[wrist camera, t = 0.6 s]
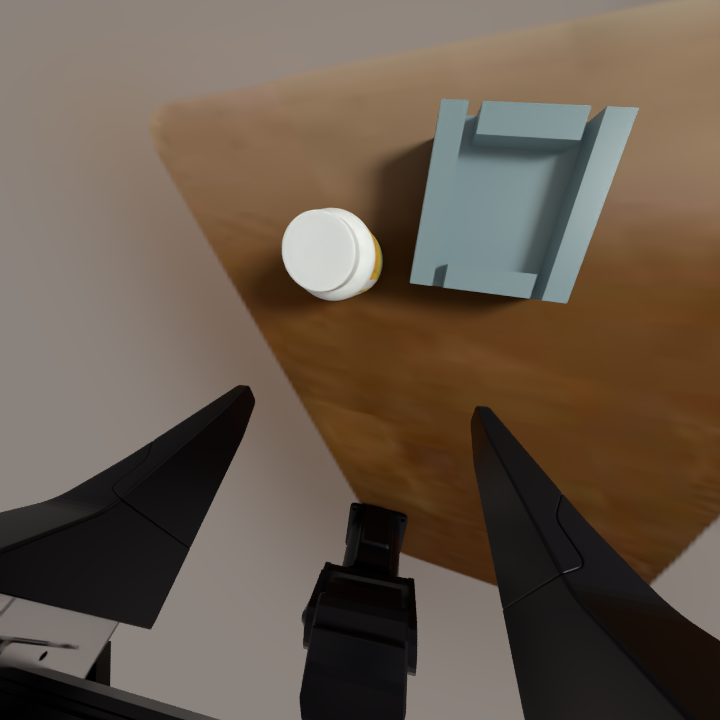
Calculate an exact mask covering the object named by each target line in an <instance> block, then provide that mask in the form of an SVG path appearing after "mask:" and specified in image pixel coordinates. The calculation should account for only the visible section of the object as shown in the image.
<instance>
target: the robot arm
mask: <svg viewBox="0 0 720 720" xmlns="http://www.w3.org/2000/svg"><path fill="white" fill-rule="evenodd" d="M254 405H255V398H254V396H253V393H252V391H251V389H250V387H249V386H244V385H238V386H236V387H235V388H233V389H232V390H230V391H229V392H227V393H226V394H224V395H222V396H221V397H219V398H218V399H216V400H215V401H213V402H212V403H210V404H209V405H207V406H206V407H204V408H203V409H201V410H199V411H198V412H196V413H195V414H193V415H192V416H191V417H189V418H187V419H186V420H184V421H183V422H181V423H180V424H178V425H176V426H175V427H174V428H172V429H170V430H169V431H167V432H166V433H164V434H163V435H161V436H159V437H158V438H157V439H155V440H154V441H152V442H150V443H149V444H147V445H146V446H144V447H142V448H141V449H139V450H138V451H136V452H135V453H133V454H132V455H130V456H128V457H127V458H125V459H123V460H122V461H120V462H118V463H116V464H115V465H113V466H111V467H110V468H108V469H106V470H105V471H103V472H101V473H99V474H97V475H96V476H94V477H92V478H91V479H89V480H87V481H85V482H84V483H82V484H80V485H78V486H77V487H75V488H73V489H71V490H70V491H68V492H66V493H64V494H62V495H60V496H58V497H55V498H53V499H50V500H47V501H44V502H41V503H37V504H34V505H30V506H25V507H21V508H17V509H13V510H9V511H5V512H1V513H0V720H219V719H215V718H212V717H209V716H205V715H202V714H199V713H195V712H192V711H189V710H186V709H182V708H179V707H176V706H172V705H169V704H166V703H162V702H159V701H156V700H153V699H149V698H146V697H143V696H139V695H136V694H133V693H129V692H126V691H122V690H119V689H116V688H113V687H110V658H111V657H110V656H111V654H110V653H111V641H108V640H109V639H110V637H111V636H112V634H113V632H114V631H115V629H116V627H117V626H118V624H119V623H120V622H121V623H125V624H129V625H133V626H137V627H141V628H146V629H151V628H152V626H153V624H154V623H155V621H156V619H157V617H158V614H159V612H160V610H161V608H162V606H163V604H164V602H165V600H166V598H167V596H168V593H169V591H170V589H171V587H172V585H173V583H174V581H175V579H176V577H177V575H178V573H179V571H180V568H181V566H182V564H183V562H184V560H185V558H186V556H187V554H188V552H189V550H190V547H191V545H192V543H193V541H194V539H195V537H196V535H197V533H198V530H199V528H200V526H201V524H202V522H203V520H204V518H205V516H206V514H207V512H208V510H209V507H210V505H211V503H212V501H213V499H214V497H215V495H216V493H217V490H218V488H219V486H220V484H221V482H222V480H223V478H224V476H225V474H226V472H227V470H228V467H229V466H230V463H231V461H232V459H233V457H234V455H235V453H236V451H237V449H238V447H239V445H240V443H241V440H242V438H243V436H244V433H245V430H246V427H247V425H248V422H249V419H250V416H251V413H252V411H253V407H254ZM471 435H472V448H473V460H474V468H475V474H476V478H477V483H478V488H479V493H480V498H481V503H482V508H483V513H484V518H485V523H486V528H487V533H488V538H489V543H490V548H491V553H492V558H493V563H494V568H495V573H496V578H497V583H498V588H499V593H500V598H501V603H502V607H503V609H504V610H503V614H504V619H505V624H506V629H507V633H508V638H509V644H510V649H511V654H512V659H513V664H514V669H515V674H516V678H517V683H518V688H519V694H520V698H521V704H522V709H523V713H524V718H525V720H720V641H719V640H718V639H716V638H715V637H713V636H712V635H710V634H709V633H707V632H705V631H704V630H702V629H701V628H699V627H698V626H696V625H695V624H693V623H692V622H691V621H689V620H688V619H686V618H685V617H684V616H682V615H681V614H680V613H679V612H678V611H676V610H675V609H674V608H673V607H671V606H670V605H669V604H668V603H667V602H666V601H664V600H663V599H662V598H661V597H660V596H659V595H658V594H657V593H656V592H655V591H654V590H653V589H652V588H651V587H650V586H649V585H648V584H647V583H646V582H645V581H644V580H643V579H642V578H641V577H640V576H639V575H638V574H637V573H636V572H635V571H634V570H633V569H632V567H631V566H630V565H629V564H628V563H627V562H626V561H625V560H624V559H623V558H622V557H621V556H620V555H619V554H618V553H617V552H616V551H615V550H614V549H613V548H612V547H611V546H610V545H609V544H608V543H607V542H606V541H605V540H604V539H603V538H602V537H601V536H600V535H599V534H598V533H597V532H596V531H595V530H594V528H593V527H592V526H591V525H590V524H589V523H588V522H587V521H586V520H585V519H584V518H583V516H582V515H581V514H580V513H579V512H578V511H577V510H576V509H575V507H574V506H573V505H572V504H571V503H570V502H569V500H568V499H567V498H566V497H565V496H564V495H563V494H562V493H561V491H560V490H559V489H558V488H557V486H556V485H555V484H554V483H553V482H552V481H551V479H550V478H549V477H548V476H547V475H546V474H545V472H544V471H543V470H542V469H541V468H540V466H539V465H538V464H537V463H536V462H535V461H534V459H533V458H532V457H531V456H530V455H529V454H528V452H527V451H526V450H525V449H524V448H523V447H522V445H521V444H520V443H519V442H518V441H517V439H516V438H515V437H514V436H513V435H512V434H511V432H510V431H509V430H508V429H507V428H506V427H505V425H504V424H503V423H502V422H501V421H500V420H499V418H498V417H497V416H496V415H495V414H494V412H493V411H492V410H491V409H490V408H489V407H486V406H477V407H476V408H475V411H474V413H473V416H472V419H471ZM561 494H562V495H561ZM355 507H356V508H355ZM406 525H407V516H406V515H405V514H402V513H397V512H393V511H389V510H385V509H380V508H376V507H372V506H368V505H363V504H359V503H352V504H351V507H350V513H349V521H348V528H347V535H346V545H347V547H346V552H345V556H344V561H343V565H342V566H340V565H335V564H331V563H330V562H326V563H325V566H324V569H323V570H321V573H320V575H319V578H318V581H317V583H316V585H315V588H314V591H313V593H312V596H311V599H310V601H309V603H308V604H307V606H306V608H305V609H304V611H303V614H302V623H303V625H304V638H303V647H304V649H307V650H308V652H307V657H306V663H305V669H304V674H303V680H302V687H301V692H300V708H301V718H302V720H404V719H405V715H406V693H407V674H408V675H412V676H415V675H416V665H417V615H416V600H415V585H414V579H413V578H408V579H407V578H402V577H399V554H400V550H401V546H402V541H403V537H404V533H405V529H406Z"/></svg>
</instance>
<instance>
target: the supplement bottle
mask: <svg viewBox="0 0 720 720" xmlns="http://www.w3.org/2000/svg"><path fill="white" fill-rule="evenodd" d="M282 258H283V262H284V265H285V267H286V269H287V271H288V273H289V275H290V276H291V277H292V279H293V280H294V281H295V282H296V283H297V284H299V285H300V286H302V287H303V288H305V289H306V290H307V291H308V292H310V293H311V294H313V295H314V296H316V297H318V298H321V299H324V300H330V301H338V300H344V299H347V298H350V297H353V296H355V295H358V294H361V293H363V292H365V291H367V290H368V289H370V288H371V287H372V286H373V285H374V284H375V283H376V282H377V280H378V278H379V276H380V274H381V271H382V266H383V255H382V251H381V247H380V245H379V243H378V241H377V240H376V238H375V237H374V236H373V234H372V233H371V232H370V231H369V229H368V228H367V227H366V225H365V224H364V223H363V222H362V221H361V220H360V219H359V218H358V217H356V216H355V215H354V214H352V213H350V212H348V211H346V210H343V209H338V208H325V209H320V210H310V211H306V212H304V213H302V214H300V215H298V216H297V217H296V218H295V219H294V220H293V221H292V222H291V223H290V224H289V226H288V227H287V229H286V231H285V234H284V237H283V241H282Z"/></svg>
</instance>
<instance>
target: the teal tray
mask: <svg viewBox="0 0 720 720" xmlns="http://www.w3.org/2000/svg"><path fill="white" fill-rule="evenodd" d="M468 103H469V100H454V99H442V100H441V105H440V110H439V115H438V120H437V125H436V130H435V135H434V141H433V147H432V153H431V158H430V164H429V170H428V176H427V182H426V187H425V193H424V199H423V205H422V211H421V216H420V222H419V228H418V234H417V240H416V246H415V251H414V257H413V263H412V269H411V275H410V280H409V282H410V283H413V284H421V285H428V286H432V285H433V286H441V287H444V288H451V289H459V290H467V291H475V292H482V293H490V294H498V295H506V296H513V297H521V298H529V299H530V298H533V299H538V300H544V301H552V302H560V303H567V302H568V299H569V296H570V294H571V291H572V288H573V285H574V283H575V280H576V277H577V275H578V272H579V269H580V266H581V264H582V261H583V258H584V256H585V253H586V250H587V247H588V245H589V242H590V239H591V237H592V234H593V231H594V228H595V226H596V223H597V220H598V218H599V215H600V212H601V209H602V207H603V204H604V201H605V199H606V196H607V193H608V190H609V188H610V185H611V182H612V180H613V177H614V174H615V171H616V169H617V166H618V163H619V161H620V158H621V155H622V152H623V150H624V147H625V144H626V142H627V139H628V136H629V133H630V131H631V128H632V125H633V123H634V120H635V117H636V114H637V112H638V109H639V108H633V107H611V106H607V107H606V108H605V109H603V110H602V111H601V112H600V113H599V114H597V115H596V116H595V117H594V118H593V119H591V120H590V121H589V122H586V121H587V118H588V115H589V112H590V109H591V106H589V105H566V104H544V103H521V102H499V101H483V102H482V105H481V107H480V109H479V111H478V114H477V116H468V115H466V113H467V108H468Z"/></svg>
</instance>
